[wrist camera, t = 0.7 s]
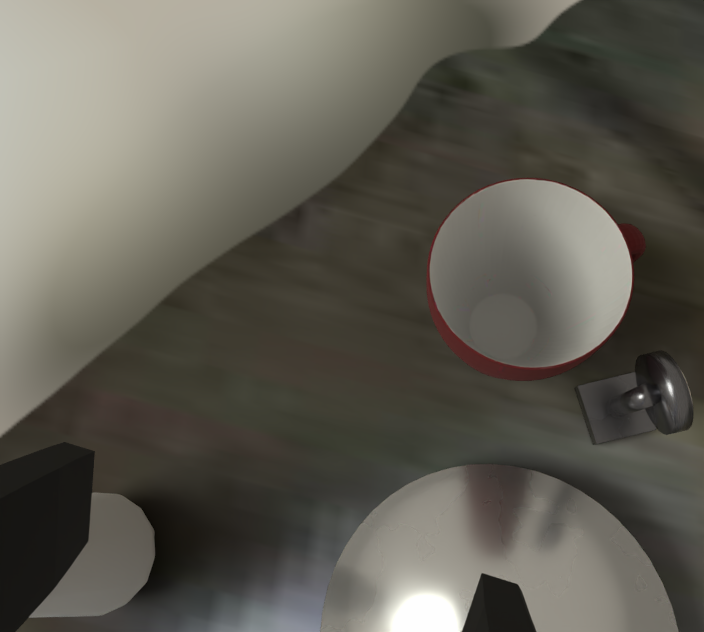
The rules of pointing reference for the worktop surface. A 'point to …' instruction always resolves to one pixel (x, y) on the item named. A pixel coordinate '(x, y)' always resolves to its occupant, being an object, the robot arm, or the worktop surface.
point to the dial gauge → (638, 400)
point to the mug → (530, 278)
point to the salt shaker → (105, 562)
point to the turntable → (493, 558)
